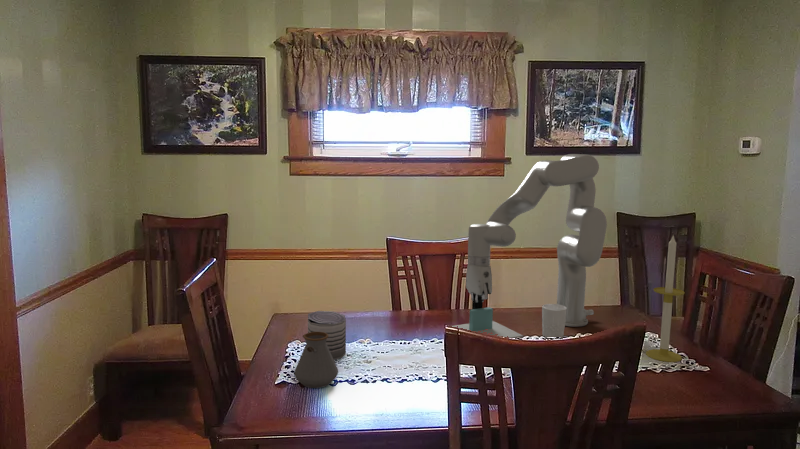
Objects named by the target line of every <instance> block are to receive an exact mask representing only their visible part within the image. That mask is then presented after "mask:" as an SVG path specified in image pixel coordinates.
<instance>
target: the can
mask: <svg viewBox="0 0 800 449" xmlns="http://www.w3.org/2000/svg"><path fill="white" fill-rule="evenodd" d="M346 322H347V319H346V315H345V314H341V313H339V312H336V311H333V310H332V311H330V310H328V311H327V310H316V311H313V312H309V313H307V333H310V332H325V333H327V334H328V338H327V340H326V344H327V346H328V348H329V350H330V353H331V355H332V357H333V359H334V361H335V360H338V359H342V358H343V357H344V356H346V353H347V351H346V350H347V343H346V342H347V339H346V338H347V336H346V335H347V331H346V330H347V328H346V326H347V325H346V324H347V323H346Z"/></svg>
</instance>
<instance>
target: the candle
mask: <svg viewBox="0 0 800 449" xmlns="http://www.w3.org/2000/svg"><path fill="white" fill-rule="evenodd" d="M667 248H668V249H667V259H666V260H667V261H666V273H665V274H666V275H665V286H660V287H659V286H658V287H654V288H653V292H654V293H657V294H660V295H663V301H662V302H663V303H662V313H661V314H662V315H661V325H660V328H661V329H660V341H659V348H657V349H656V348H654V349H648V350H647V351H646V352H645V355H646V356H647V357H648V358H651V359H653V360H655V361H660V362H664V363H665V362H667V363H677V362H681V361H682V355H680V354H679V353H678V352H677V353H676V352H674V351H670V350H669V349H670V336H671V326H672V325H671V324H672V314H673V300H674V297H677V296H683V295H685V291H683V290H682V289H678V288H675V287H674V280H675V279H674V278H675V265H676V253H677V241H676V239H675V236H674V235H672V236H671V239H670V241H669V242H668V247H667Z"/></svg>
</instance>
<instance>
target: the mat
mask: <svg viewBox="0 0 800 449" xmlns="http://www.w3.org/2000/svg"><path fill="white" fill-rule="evenodd" d="M451 326H452V327H457V326H458V328H463V329H467V330H469V323H463V324H457V325H456V324H455V325H451ZM479 331H481V332H480V333H483V332H487V334H488V333H491V332H492V333H493V334H490V335H495V334H498V335H497V336H503V337H507V336H508V337H509V338H515V339H518V338H517V337H521V338H524V335H523V334H521V333H519V332H518V331H515V330H513V329H510V328H509V327H507V326H505V325H503V324H501V323H498V322H496V321H495V320H493V321H492V329H488V330H484V331H483V330H479ZM476 332H478V331H476Z"/></svg>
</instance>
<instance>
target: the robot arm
mask: <svg viewBox="0 0 800 449" xmlns="http://www.w3.org/2000/svg"><path fill="white" fill-rule="evenodd" d="M559 159H560V160H548V159H546V160H539V161H537V162H536V163H534V165H533V166H532V168H531V169H530V171H529V172H528V173H527V174H526V176H525V177H524V179H523V180H522V182H521V184H520V185H519V186H518V188H516V190H515V192H513V194H512V195H511V196H509V197H508V198H507V199H506V200H505V201H503V202H502V203H501V204H500V205H499V206H497V208H496V209H495V210H494V211H493V212H492V214H491V215H490V216H489V218H488V219H487V221H486V222H485V223H472V224H471V225H469V227H468V235H467V236H468V238H467V239H468V241H467V266H466V267H467V268H466V276H465V288H466V289H467V292H468V293H469V295H470V296H471V302H472V303H471V309H479V308H484V307H483V306H484V304H483V303H484V301H485V300H488V299H489V297H488V296H489V295H491V294H492V292H493V276H492V275H493V274H492V267H491V246H494V247H495V246H496V247H509V246H511V245H512V244H514V242H515V241H516V238H517V234H516V231H515V229H514V228H513V227H512V226H510V224H511V223H512V221H514V220H515V219H516V218H517V217H519V216H520V215H522V214H524V213H527V212H530V211H531V210H533V209H534V208H536V207H537V206H538V203H539V202H540V201H541V199H542V198H543V196H544V195H545V194H546V192H547V191H549V188H550V187H562V186H568V185H569V190H570V191H569V200H568V204H567V205H568V206H567V210H566V217H565V224H566V226H567V228H568V229H570V230H572V231H575V232H578V234H566V235H563V237H561V238H560V240H559V241H558V243H557V248H556V255H557V262H558V271H557V272H558V274H557V275H558V276H557V289H556V290H557V294H556V304H558V305H563V306H565V307H566V308H567V310H566V320H565V327H572V328H573V327H575V328H576V327H577V328H579V327H585V326H587V325H588V324H589V319H588V318H587V316H592V315H594V313H595V311H594V310H593V309H586V308H585V301H586V299H585V298H586V284H587V269H586V268H590V267H593V266H595V265H596V264H598V262H600V259H601V257H602V254H603V250H604V244H605V238H606V233H607V228H608V227H607V226H608V223H607V217H606V215H605V213H604V211H602V210H601V209H600V208H597V207H595V201H596V190H597V188H596V183H595V181H594V178H595V177H596V175H598V173H599V169H600V164H599V162H598V160H597V158H595V156H593V155H589V154H583V153H582V154H581V153H568V154H565V155H563V156H562V157H561V158H559Z"/></svg>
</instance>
